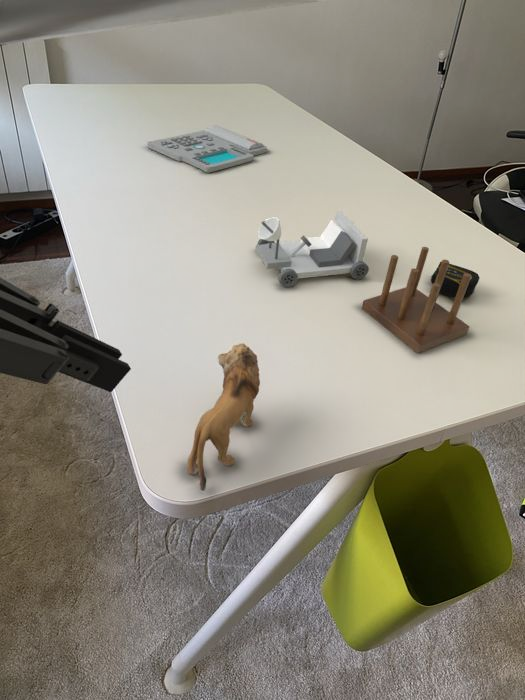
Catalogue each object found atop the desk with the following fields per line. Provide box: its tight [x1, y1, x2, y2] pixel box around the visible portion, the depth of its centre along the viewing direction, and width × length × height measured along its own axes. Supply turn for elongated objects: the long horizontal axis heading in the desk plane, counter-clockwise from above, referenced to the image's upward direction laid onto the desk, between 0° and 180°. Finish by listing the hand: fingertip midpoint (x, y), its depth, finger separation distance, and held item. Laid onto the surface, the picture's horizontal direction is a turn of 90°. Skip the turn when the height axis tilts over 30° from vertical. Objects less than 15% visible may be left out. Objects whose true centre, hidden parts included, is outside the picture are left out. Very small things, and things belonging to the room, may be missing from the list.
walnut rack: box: [361, 246, 471, 354], centre depth 79 cm, size 12×10×10 cm
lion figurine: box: [186, 343, 261, 492], centre depth 58 cm, size 15×5×9 cm, turn 167°
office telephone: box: [146, 124, 268, 173], centre depth 129 cm, size 23×3×20 cm
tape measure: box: [430, 260, 480, 300], centre depth 88 cm, size 7×7×4 cm
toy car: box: [255, 210, 370, 288], centre depth 88 cm, size 18×10×12 cm
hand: (114, 370), depth 47 cm, fingers closed
